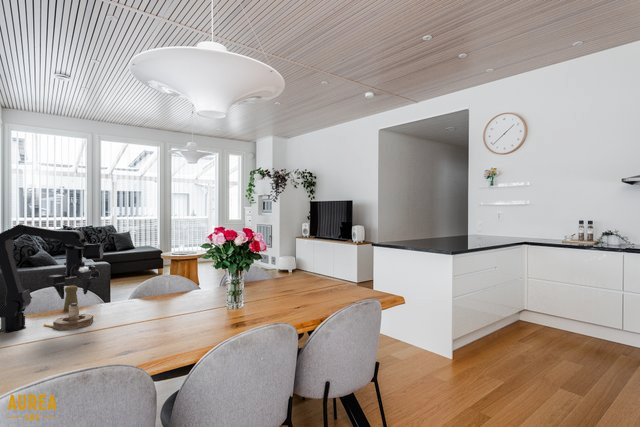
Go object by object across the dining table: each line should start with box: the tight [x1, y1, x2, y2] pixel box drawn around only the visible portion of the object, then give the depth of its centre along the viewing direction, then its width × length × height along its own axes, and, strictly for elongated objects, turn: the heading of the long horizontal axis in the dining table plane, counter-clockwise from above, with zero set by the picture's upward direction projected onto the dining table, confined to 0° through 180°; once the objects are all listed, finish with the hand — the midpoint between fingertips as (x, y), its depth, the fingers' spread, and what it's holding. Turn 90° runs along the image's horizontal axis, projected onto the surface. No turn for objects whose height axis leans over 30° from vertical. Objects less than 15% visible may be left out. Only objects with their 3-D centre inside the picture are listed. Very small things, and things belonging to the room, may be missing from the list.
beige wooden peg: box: [68, 303, 80, 321], centre depth 146 cm, size 4×4×9 cm
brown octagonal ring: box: [52, 313, 94, 331], centre depth 146 cm, size 13×13×2 cm
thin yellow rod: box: [43, 323, 53, 328], centre depth 143 cm, size 1×7×1 cm, turn 67°
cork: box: [63, 285, 79, 310], centre depth 171 cm, size 6×6×11 cm
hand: (74, 296), depth 146 cm, fingers open, 9 cm apart
